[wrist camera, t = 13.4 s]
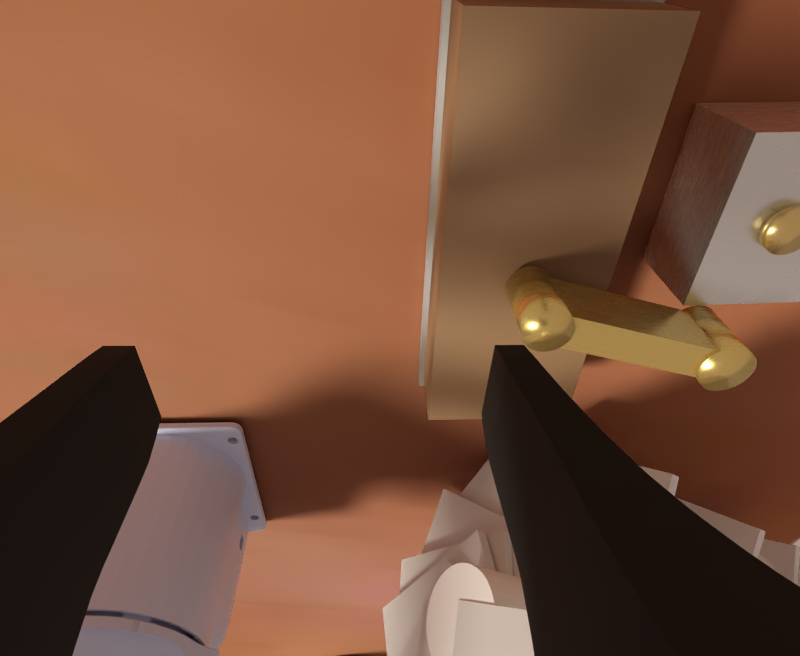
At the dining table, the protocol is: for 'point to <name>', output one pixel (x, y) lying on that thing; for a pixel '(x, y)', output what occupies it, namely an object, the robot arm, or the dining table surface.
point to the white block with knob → (733, 207)
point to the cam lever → (627, 329)
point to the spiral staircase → (502, 576)
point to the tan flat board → (534, 167)
